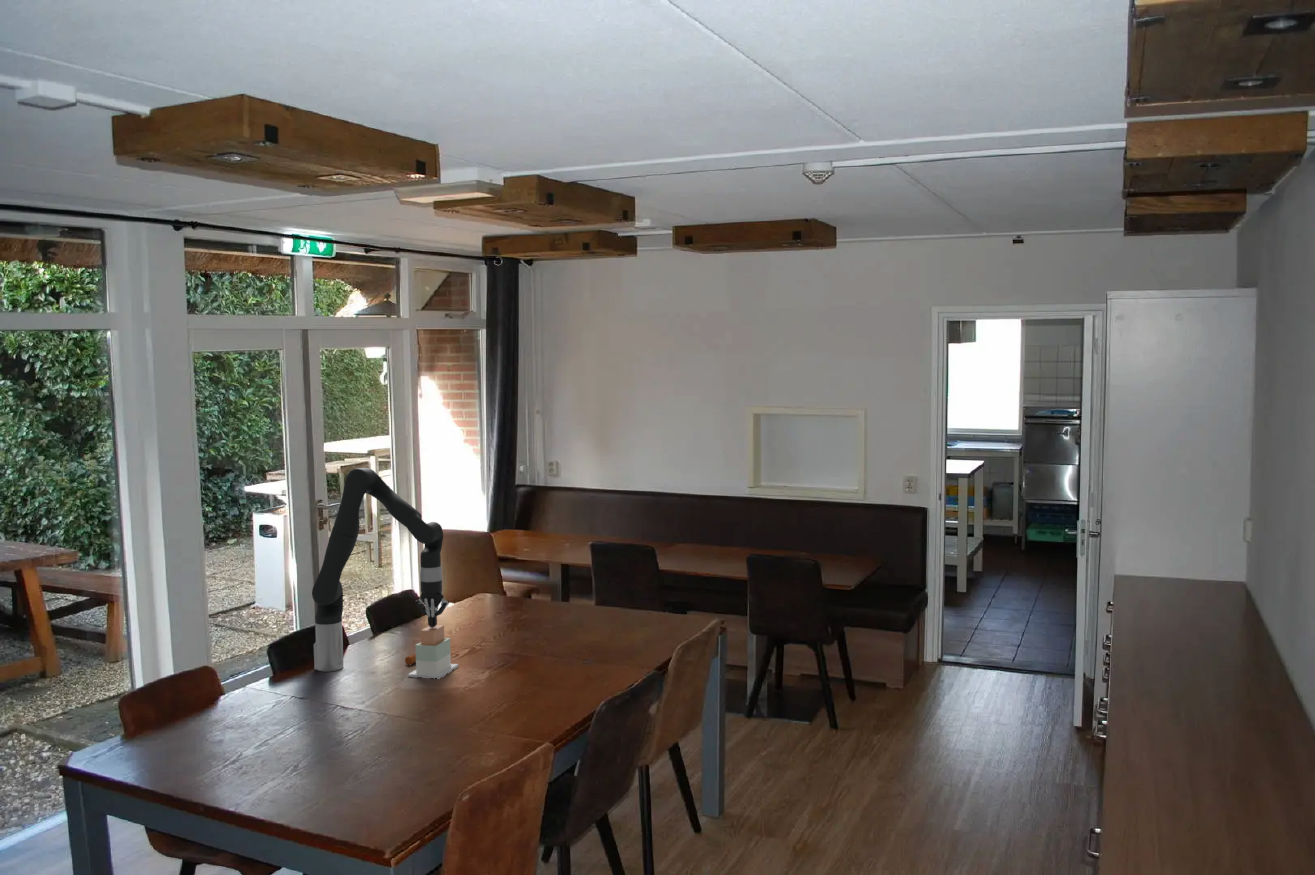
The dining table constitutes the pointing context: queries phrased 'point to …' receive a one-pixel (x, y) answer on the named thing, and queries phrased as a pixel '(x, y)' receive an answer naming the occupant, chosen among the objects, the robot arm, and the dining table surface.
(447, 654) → the mint open-top box
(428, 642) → the brick
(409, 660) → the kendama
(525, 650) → the dining table surface
